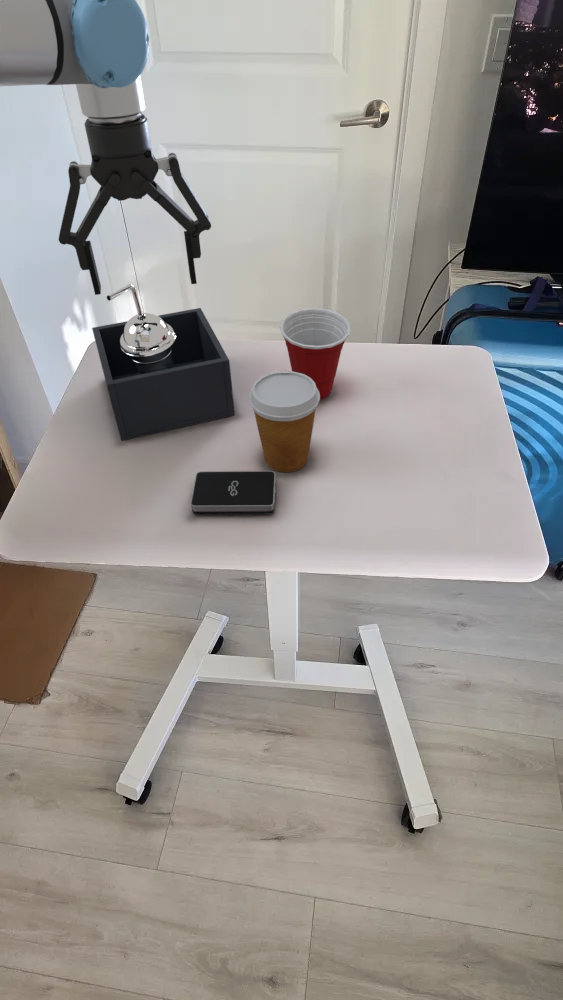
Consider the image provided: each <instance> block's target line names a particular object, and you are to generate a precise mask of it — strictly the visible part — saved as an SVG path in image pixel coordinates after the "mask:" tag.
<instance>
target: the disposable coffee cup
mask: <svg viewBox="0 0 563 1000" xmlns="http://www.w3.org/2000/svg"><path fill="white" fill-rule="evenodd" d="M320 400H321V399H320V393H319V391H318V389H317V388H316V384H315V382H314V381H313V380H312V379H311V378H310V377H308V376H306V375H304V374H302V373H297V372H293V371H292V370H278V371H272V372H270V373H267V374H263V375H262V376H260V377H259V378H257V380H255V381H254V383H253V384H252V386H251V390H250V392H249V394H248V402H249V405H250V407H251V408H252V410H253V412H254V413H253V414H254V417H255V421H256V426H257V431H258V435H259V440H260V445H261V449H262V453H263V457H264V462H265V464H266V466H267V467H268V468H270V469H271V470H272V471H275V472H279V473H293V472H296V471H299V470H301V469H302V468H304V467H305V466H306V465H307V463H308V461H309V454H310V449H311V442H312V436H313V429H314V423H315V416H316V410H317V407H318V404H319V403H320Z"/></svg>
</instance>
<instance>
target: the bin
mask: <svg viewBox="0 0 563 1000" xmlns="http://www.w3.org/2000/svg"><path fill="white" fill-rule="evenodd" d="M158 316H159V317H160V318H161V319H162V320H163V321H164V322H165V323H167V324H168V325H170V326H171V327H172V328H173V330H174V332H175V336H176V338H175V341H174V343H173V344H172V359H173V367H174V368H170V369H165V370H160V371H156V372H151V373H146V374H141V375H140V374H139V372H138V370H137V368H136V366H135V363H134V362H133V361H132V359H131V358H130V356H129V355H128V354H126V353H124V352H123V351H122V349H121V347H120V338H121V336H122V334H123V332H124V328H125V325H126V323H127V322H128V320H127V321H121V322H115V323H111V324H104V325H99V326H93V327H92V328H91V329H92V333H93V337H94V342H95V345H96V349H97V353H98V357H99V361H100V366H101V369H102V372H103V376H104V381H105V384H106V388H107V392H108V396H109V399H110V403H111V408H112V411H113V414H114V419H115V422H116V423H115V424H116V426H117V430H118V433H119V438H120V441H121V442H122V441H127V440H131V439H134V438H140V437H145V436H149V435H154V434H158V433H162V432H166V431H171V430H175V429H181V428H185V427H189V426H193V425H197V424H202V423H207V422H211V421H215V420H220V419H223V418H229V417H233V416H235V415H236V412H235V404H234V403H235V402H234V392H233V384H232V374H231V364H230V359H229V357H228V355H227V353H226V351H225V350H224V348H223V346H222V344H221V342H220V341H219V338H218V337H217V335H216V334H215V333H216V332H214V329H213V328H212V325H211V324H210V322H209V321H208V319H207V317H206V315H205V313H204V311H203V310H202V308H201V307H197V308H192V309H187V310H182V311H176V312H170V313H165V314H159V315H158Z"/></svg>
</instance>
